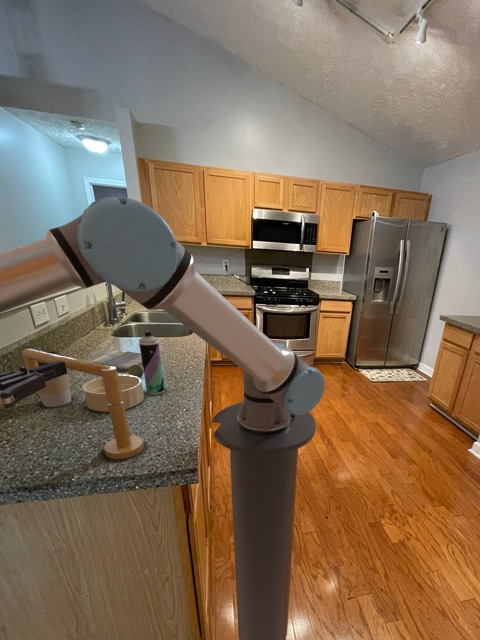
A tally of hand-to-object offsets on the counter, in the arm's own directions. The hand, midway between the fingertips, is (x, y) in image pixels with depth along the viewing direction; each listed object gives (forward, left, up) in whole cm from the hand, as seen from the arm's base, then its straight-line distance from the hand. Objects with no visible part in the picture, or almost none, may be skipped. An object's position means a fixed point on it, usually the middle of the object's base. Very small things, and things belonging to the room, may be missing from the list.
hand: (63, 367), depth 67 cm
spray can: (0, -33, -19) cm, 38 cm away
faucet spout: (+2, -3, -7) cm, 7 cm away
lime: (+13, -43, -19) cm, 48 cm away
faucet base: (-11, 0, -19) cm, 22 cm away
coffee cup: (+23, -19, -19) cm, 35 cm away
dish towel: (+27, -57, -19) cm, 66 cm away
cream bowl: (+7, -23, -19) cm, 30 cm away
